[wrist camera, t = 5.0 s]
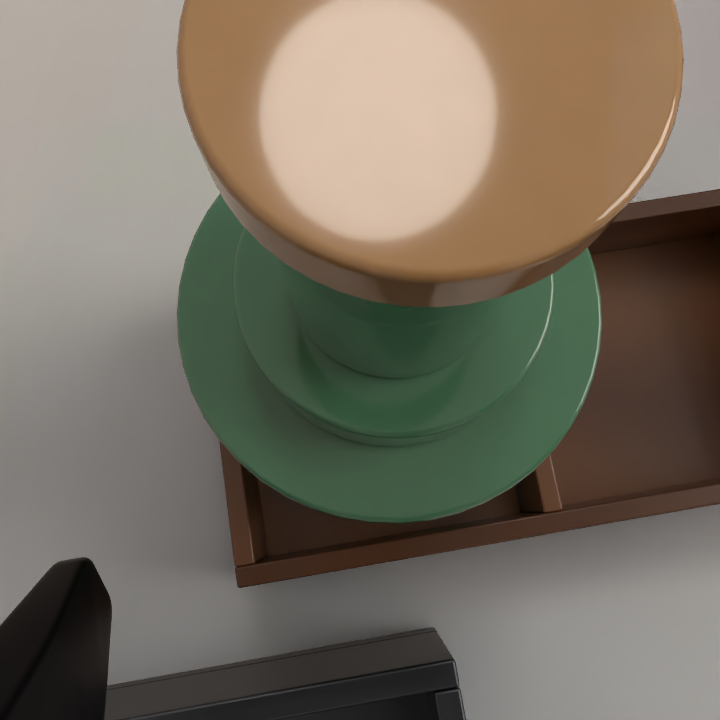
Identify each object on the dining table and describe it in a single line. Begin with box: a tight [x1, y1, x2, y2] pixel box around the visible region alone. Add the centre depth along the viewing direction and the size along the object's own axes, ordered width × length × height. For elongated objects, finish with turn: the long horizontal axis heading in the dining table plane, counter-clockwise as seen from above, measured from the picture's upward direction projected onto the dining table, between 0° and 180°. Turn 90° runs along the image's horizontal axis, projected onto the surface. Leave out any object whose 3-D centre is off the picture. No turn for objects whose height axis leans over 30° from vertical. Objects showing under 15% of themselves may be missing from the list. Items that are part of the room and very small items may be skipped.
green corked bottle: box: [177, 0, 684, 524], centre depth 12 cm, size 6×6×16 cm
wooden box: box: [219, 189, 720, 588], centre depth 19 cm, size 8×16×3 cm, turn 100°
